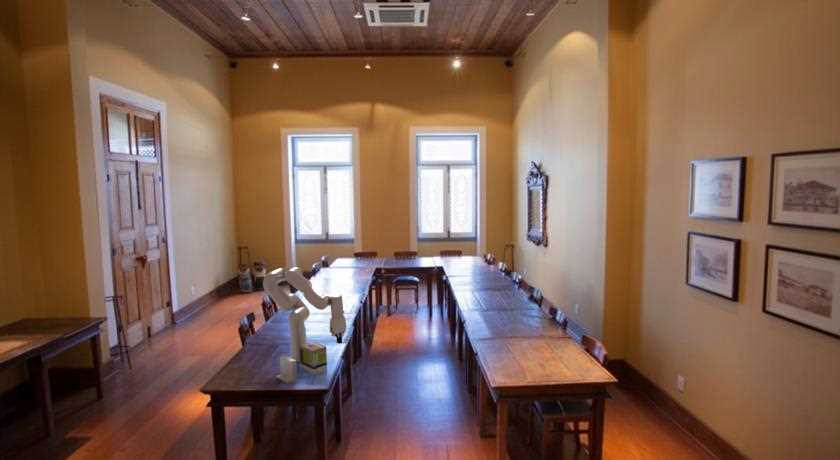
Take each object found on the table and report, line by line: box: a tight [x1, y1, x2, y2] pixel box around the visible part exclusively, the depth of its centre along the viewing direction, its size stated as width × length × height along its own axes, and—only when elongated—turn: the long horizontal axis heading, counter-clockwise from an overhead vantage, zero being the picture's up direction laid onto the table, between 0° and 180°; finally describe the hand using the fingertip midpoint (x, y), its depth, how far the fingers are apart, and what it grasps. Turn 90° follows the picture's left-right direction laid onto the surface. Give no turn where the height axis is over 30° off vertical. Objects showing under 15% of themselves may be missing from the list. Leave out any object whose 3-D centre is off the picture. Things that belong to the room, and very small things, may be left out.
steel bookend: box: [275, 354, 298, 385], centre depth 261 cm, size 12×6×12 cm, turn 48°
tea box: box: [299, 340, 328, 375], centre depth 275 cm, size 15×10×15 cm, turn 44°
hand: (339, 343), depth 289 cm, fingers closed
